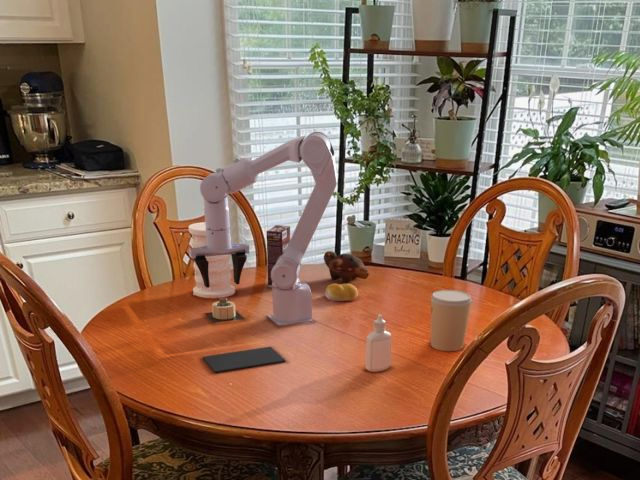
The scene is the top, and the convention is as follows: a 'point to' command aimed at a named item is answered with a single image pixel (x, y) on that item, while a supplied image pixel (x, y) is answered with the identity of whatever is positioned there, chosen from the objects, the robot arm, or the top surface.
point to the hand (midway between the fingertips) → (222, 284)
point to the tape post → (223, 304)
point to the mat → (243, 359)
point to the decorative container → (211, 268)
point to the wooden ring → (223, 310)
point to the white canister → (449, 319)
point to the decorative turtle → (345, 266)
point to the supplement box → (276, 246)
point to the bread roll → (341, 292)
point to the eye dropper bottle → (378, 347)
